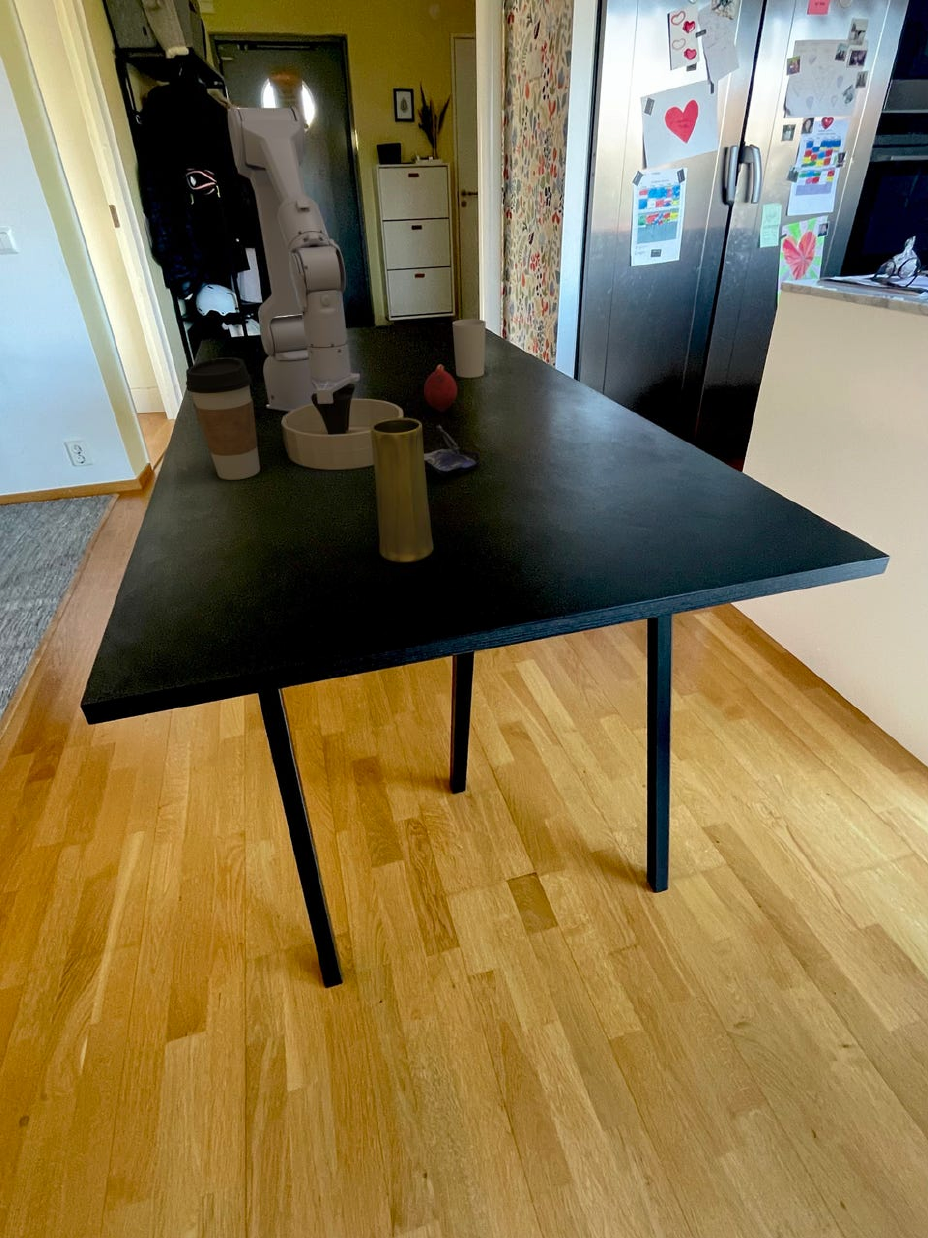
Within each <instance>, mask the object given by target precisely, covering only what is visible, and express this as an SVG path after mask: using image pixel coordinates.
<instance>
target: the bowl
mask: <svg viewBox="0 0 928 1238" xmlns="http://www.w3.org/2000/svg"><path fill="white" fill-rule="evenodd" d="M403 410H404V409H402V407H400V406H399V405H398V404H395V403H392V402H389V401H386V400H379V399H374V398H373V399H372V398H352V399H351V405H350V415H349V430H369V431H364V432H358V433H352V434H336V435H323V434H310V433H304V432H303V431H327V429H326V426H325V424H324V421H323V419H322V417H321V415H320V413H319V411H318V410H317V408H316V407H315V406H314V404H309V405H305V406H302V407H300V408H297V409H295V410H292V411H290V412H287V413H286V414H285V415H283V417H282V420H281V422H280V424H281V430H282V435H283V441H284V447H285V451H286V453H287V457H288V458H289V460H290V461H292V462H293V463H295V464H297V465H299V466H302V467H306V468H311V469H318V470H328V471H329V470H331V471H334V470H335V471H336V470H337V471H339V470H352V469H360V468H366V467H371V466H374V458H373V447H372V438H371V425H372V424H373V423H375V422H377V421H379V420H383V419H388V418H405V417H404V411H403Z"/></svg>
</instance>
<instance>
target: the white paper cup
mask: <svg viewBox="0 0 928 1238" xmlns="http://www.w3.org/2000/svg"><path fill="white" fill-rule="evenodd" d="M486 325H487V321H486V320H483V319H473V318H472V319H470V318H469V319H460V320H458V319H457V320H455V321H453V322H452V332H453V347H454V360H455V361H454V362H455V373H456V374H455V375H456V376H457V377H459V378H466V379H467V378H469V379H470V378H471V379H473V378H479V377H482V376H484V375H485V360H486V359H485V356H486V327H487V326H486Z"/></svg>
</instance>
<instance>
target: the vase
mask: <svg viewBox="0 0 928 1238" xmlns="http://www.w3.org/2000/svg"><path fill="white" fill-rule="evenodd" d="M371 438H372V447H373V458H374V465H373V467H374V478H375V494H376V508H377V510H376V511H377V524H378V536H379V545H378V546H379V548H378V549H379V550H378V551H379V555H380V556H381V557H382V558H384V559H385V560H388V561H390V562H394V563H403V564H404V563H405V564H406V563H414V562H415V563H416V562H418V561H422V560H424V559H426V558H427V557H429V556H430V555H432V553H433V551H434V548H435V547H434V545H435V544H434V541H433V536H432V527H431V515H430V508H429V500H428V499H429V498H428V487H427V476H426V469H425V463H424V454H425V452H424V451H425V450H424V439H423V438H424V437H423V424H422V422H421V421H420V420H418V419H415V418H412V417H411V418H410V417H404V418H388V419H383V420H379V421H377V422H375V423H373V424H372V425H371Z"/></svg>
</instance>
